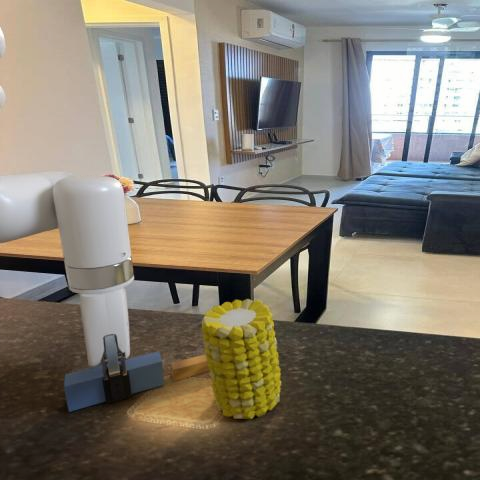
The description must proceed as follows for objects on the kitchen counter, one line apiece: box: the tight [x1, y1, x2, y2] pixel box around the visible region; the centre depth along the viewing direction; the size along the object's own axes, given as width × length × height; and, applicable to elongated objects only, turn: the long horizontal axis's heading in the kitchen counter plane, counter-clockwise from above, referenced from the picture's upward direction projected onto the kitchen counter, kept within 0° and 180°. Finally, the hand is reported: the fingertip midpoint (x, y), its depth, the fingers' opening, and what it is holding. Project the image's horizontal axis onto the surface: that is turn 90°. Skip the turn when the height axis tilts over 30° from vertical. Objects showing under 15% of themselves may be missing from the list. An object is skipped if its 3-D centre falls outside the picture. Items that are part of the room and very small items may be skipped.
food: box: [201, 298, 282, 420], centre depth 52 cm, size 15×12×10 cm
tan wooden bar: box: [170, 353, 210, 382], centre depth 61 cm, size 12×2×2 cm, turn 120°
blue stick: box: [63, 350, 165, 413], centre depth 54 cm, size 12×3×4 cm, turn 120°
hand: (118, 390), depth 55 cm, fingers closed on blue stick, 3 cm apart
